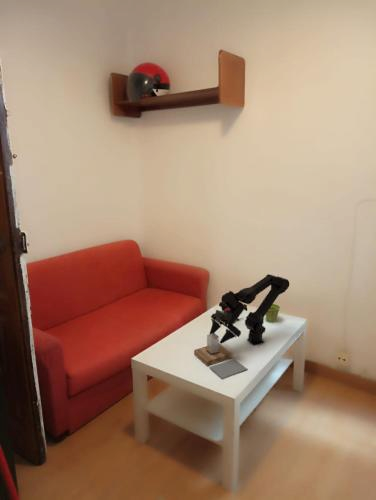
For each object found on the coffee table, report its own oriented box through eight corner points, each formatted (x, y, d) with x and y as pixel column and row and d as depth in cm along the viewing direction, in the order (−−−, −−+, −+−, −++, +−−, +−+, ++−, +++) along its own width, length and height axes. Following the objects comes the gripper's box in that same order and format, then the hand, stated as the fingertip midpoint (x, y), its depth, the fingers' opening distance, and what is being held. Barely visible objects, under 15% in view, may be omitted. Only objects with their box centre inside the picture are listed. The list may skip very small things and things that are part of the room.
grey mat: (234, 359, 174) (234, 358, 174) (247, 370, 166) (247, 368, 166) (209, 368, 168) (209, 367, 168) (221, 379, 159) (221, 378, 159)
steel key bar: (214, 353, 181) (214, 332, 178) (218, 357, 177) (218, 336, 175) (207, 355, 179) (207, 335, 176) (211, 359, 175) (211, 338, 173)
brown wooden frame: (218, 347, 186) (218, 342, 186) (231, 357, 176) (231, 353, 176) (194, 354, 180) (194, 350, 179) (207, 366, 170) (207, 361, 169)
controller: (234, 310, 231) (235, 295, 228) (223, 316, 222) (223, 301, 219) (229, 308, 233) (229, 293, 231) (217, 314, 224) (217, 299, 222)
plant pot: (279, 317, 219) (280, 303, 217) (279, 324, 210) (280, 310, 208) (263, 316, 221) (263, 303, 219) (263, 323, 212) (263, 309, 210)
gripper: (213, 298, 183) (194, 323, 180) (236, 311, 167) (215, 339, 164) (226, 309, 188) (208, 334, 186) (249, 323, 172) (230, 350, 170)
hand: (215, 339), depth 176 cm, fingers open, 9 cm apart
